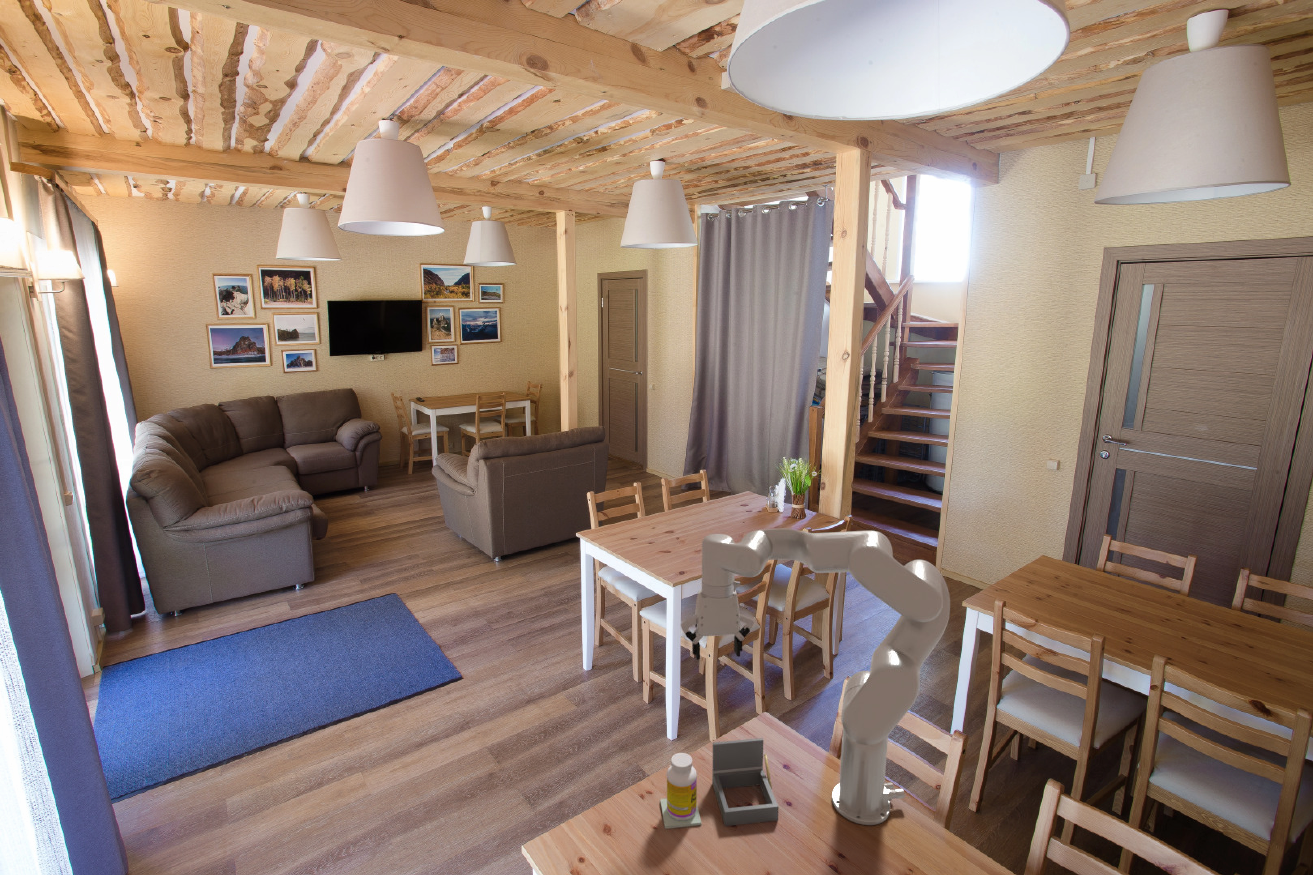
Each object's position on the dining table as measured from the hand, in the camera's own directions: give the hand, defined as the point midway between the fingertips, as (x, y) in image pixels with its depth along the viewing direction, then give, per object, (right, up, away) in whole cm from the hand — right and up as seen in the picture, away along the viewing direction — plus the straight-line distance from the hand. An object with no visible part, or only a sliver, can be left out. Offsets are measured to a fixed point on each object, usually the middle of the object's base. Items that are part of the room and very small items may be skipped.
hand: (717, 655), depth 151 cm
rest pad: (-9, -33, -8) cm, 35 cm away
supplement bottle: (-9, -32, -8) cm, 34 cm away
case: (+6, -32, -5) cm, 33 cm away
